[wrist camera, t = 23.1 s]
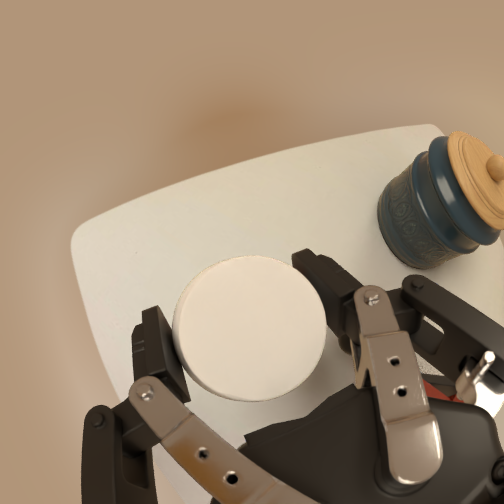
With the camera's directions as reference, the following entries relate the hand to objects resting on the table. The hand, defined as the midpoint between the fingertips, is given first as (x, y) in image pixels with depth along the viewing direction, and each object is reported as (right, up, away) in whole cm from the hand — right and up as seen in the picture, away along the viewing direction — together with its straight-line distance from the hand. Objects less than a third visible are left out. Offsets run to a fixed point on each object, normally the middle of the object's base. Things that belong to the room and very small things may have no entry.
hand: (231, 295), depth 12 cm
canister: (+23, +6, +21) cm, 31 cm away
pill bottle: (0, -4, +7) cm, 8 cm away
